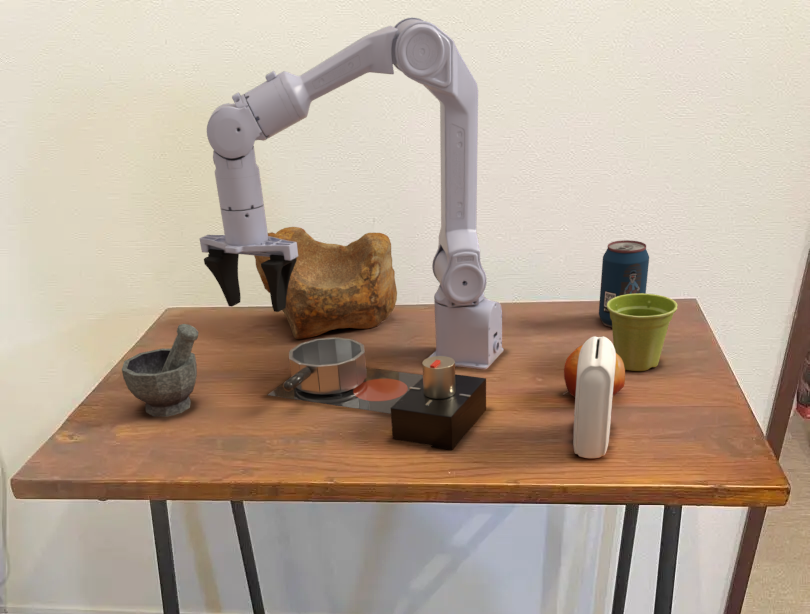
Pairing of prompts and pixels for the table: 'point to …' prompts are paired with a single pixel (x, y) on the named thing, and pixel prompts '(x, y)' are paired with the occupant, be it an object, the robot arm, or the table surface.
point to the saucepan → (326, 366)
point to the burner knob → (439, 377)
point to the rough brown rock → (337, 283)
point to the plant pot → (640, 328)
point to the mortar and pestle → (164, 375)
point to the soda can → (622, 273)
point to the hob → (362, 391)
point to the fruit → (571, 373)
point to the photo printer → (594, 397)
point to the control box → (439, 413)
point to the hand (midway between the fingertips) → (256, 306)
